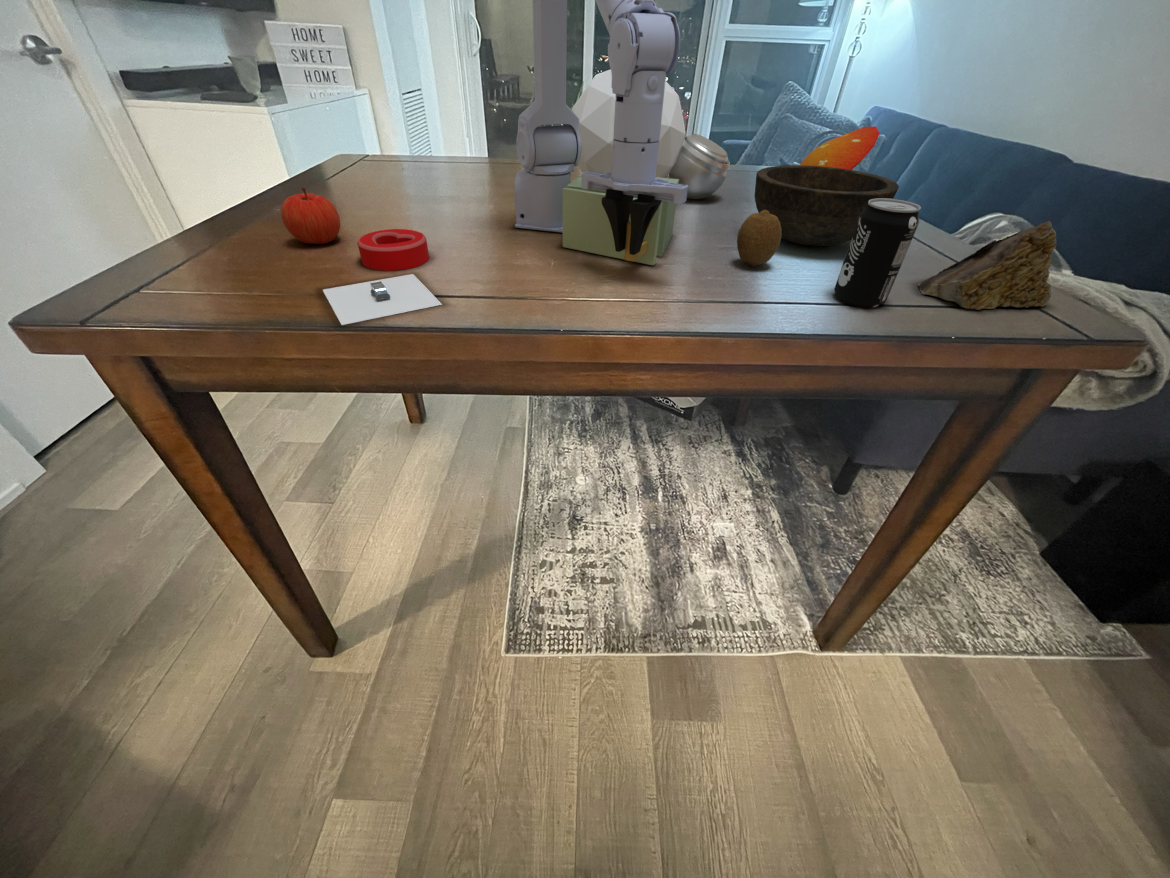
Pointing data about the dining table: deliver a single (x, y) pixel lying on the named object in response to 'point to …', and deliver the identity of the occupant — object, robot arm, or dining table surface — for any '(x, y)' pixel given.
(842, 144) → the decorative mushroom
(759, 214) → the fruit
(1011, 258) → the mineral specimen
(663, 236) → the cupboard
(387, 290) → the white paper sheet
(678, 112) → the lamp
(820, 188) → the bowl
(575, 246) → the cupboard door
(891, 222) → the beverage can
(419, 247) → the decorative ornament
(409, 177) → the dining table surface
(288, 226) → the apple
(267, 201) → the dining table surface
